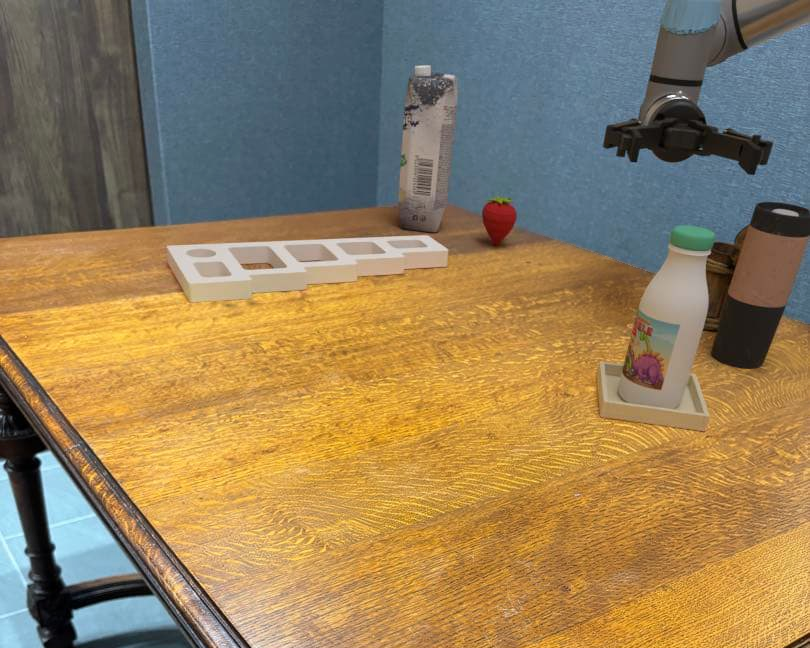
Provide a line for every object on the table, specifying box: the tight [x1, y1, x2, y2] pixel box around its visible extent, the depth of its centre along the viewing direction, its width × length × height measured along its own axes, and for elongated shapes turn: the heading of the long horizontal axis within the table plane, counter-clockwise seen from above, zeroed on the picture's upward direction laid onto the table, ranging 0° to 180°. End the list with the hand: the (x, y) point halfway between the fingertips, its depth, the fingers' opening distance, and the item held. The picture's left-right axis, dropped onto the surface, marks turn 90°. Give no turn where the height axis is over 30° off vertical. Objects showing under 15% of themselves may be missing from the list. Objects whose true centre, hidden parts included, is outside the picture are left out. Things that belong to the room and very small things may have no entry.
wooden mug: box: [703, 223, 750, 332], centre depth 119 cm, size 9×14×18 cm, turn 12°
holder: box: [166, 234, 450, 303], centre depth 129 cm, size 45×18×3 cm, turn 113°
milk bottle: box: [618, 224, 716, 409], centre depth 94 cm, size 8×8×20 cm
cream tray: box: [596, 360, 711, 432], centre depth 99 cm, size 12×12×2 cm
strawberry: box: [481, 187, 518, 246], centre depth 148 cm, size 6×8×10 cm
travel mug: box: [710, 201, 810, 369], centre depth 108 cm, size 8×8×20 cm
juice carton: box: [397, 65, 458, 233], centre depth 150 cm, size 9×10×27 cm
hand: (695, 156), depth 94 cm, fingers open, 13 cm apart
